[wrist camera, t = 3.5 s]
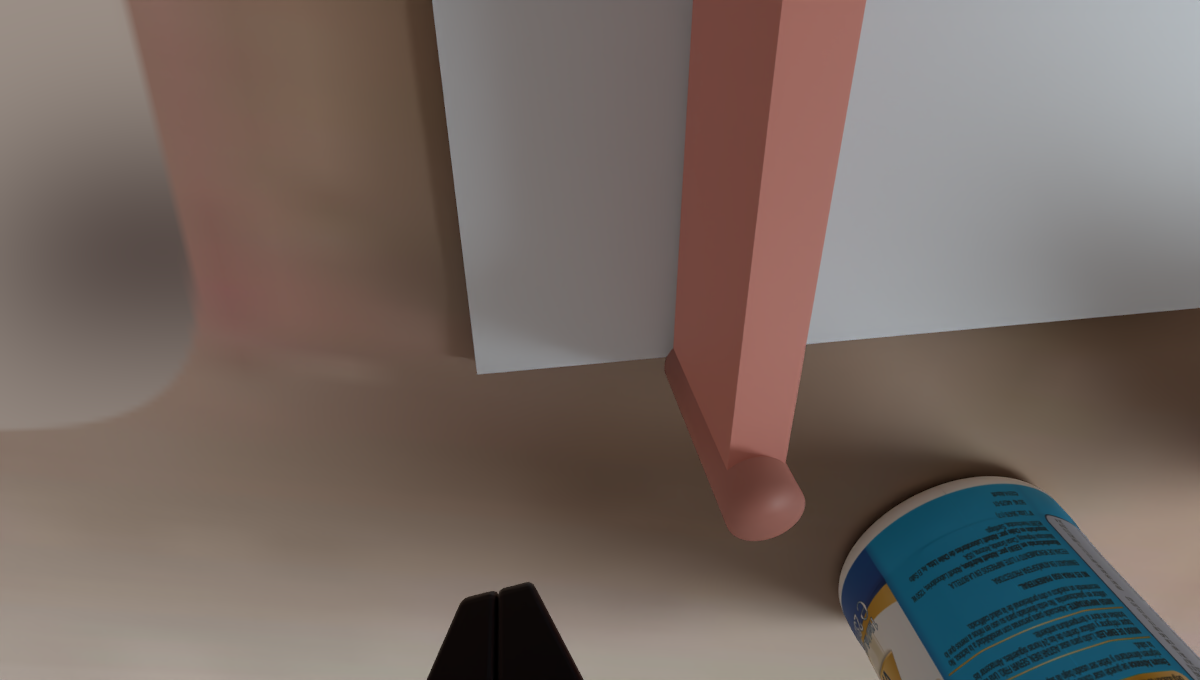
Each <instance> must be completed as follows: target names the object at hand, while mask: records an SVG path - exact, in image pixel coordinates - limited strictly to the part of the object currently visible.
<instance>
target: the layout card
mask: <svg viewBox="0 0 1200 680" xmlns="http://www.w3.org/2000/svg"><path fill="white" fill-rule="evenodd" d="M432 4H433V13H434V21H435V29H436V37H437V46H438V54H439V62H440V71H441V79H442V87H443V95H444V104H445V112H446V120H447V128H448V137H449V145H450V153H451V162H452V170H453V178H454V186H455V195H456V203H457V211H458V220H459V228H460V236H461V244H462V253H463V261H464V269H465V278H466V286H467V294H468V302H469V311H470V319H471V327H472V335H473V344H474V352H475V360H476V369H477V375H478V374H489V373H500V372H510V371H521V370H532V369H543V368H554V367H565V366H576V365H586V364H597V363H608V362H619V361H630V360H641V359H651V358H662V357H667V356H668V354H669V353H670V351H671V350H672V349H673V343H674V325H675V308H676V290H677V272H678V255H679V237H680V220H681V202H682V184H683V167H684V149H685V131H686V114H687V96H688V78H689V61H690V43H691V26H692V8H693V0H432ZM1194 308H1200V0H866V5H865V11H864V16H863V22H862V28H861V34H860V39H859V45H858V51H857V57H856V62H855V68H854V74H853V79H852V85H851V91H850V97H849V102H848V108H847V114H846V120H845V125H844V131H843V137H842V142H841V148H840V154H839V160H838V165H837V171H836V177H835V183H834V188H833V194H832V200H831V205H830V211H829V217H828V223H827V228H826V234H825V240H824V246H823V251H822V257H821V263H820V268H819V274H818V280H817V286H816V291H815V297H814V303H813V309H812V314H811V320H810V326H809V331H808V337H807V343H806V344H814V343H825V342H836V341H847V340H857V339H868V338H879V337H890V336H901V335H912V334H922V333H933V332H944V331H955V330H966V329H977V328H988V327H998V326H1009V325H1020V324H1031V323H1042V322H1053V321H1063V320H1074V319H1085V318H1096V317H1107V316H1118V315H1128V314H1139V313H1150V312H1161V311H1172V310H1183V309H1194Z"/></svg>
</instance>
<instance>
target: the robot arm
mask: <svg viewBox="0 0 1200 680" xmlns="http://www.w3.org/2000/svg"><path fill="white" fill-rule="evenodd" d="M427 680H583V678H582V676H581V674H580V672H579V670H578V668H577V666H576V664H575V662H574V660H573V659H572V657H571V655H570V653H569V651H568V649H567V647H566V645H565V643H564V641H563V639H562V638H561V636H560V634H559V632H558V630H557V628H556V626H555V624H554V622H553V620H552V618H551V617H550V615H549V613H548V611H547V609H546V607H545V605H544V603H543V601H542V599H541V597H540V596H539V594H538V592H537V590H536V588H535V586H534V585H533V584H532V583H530V582H526V583H522V584H518V585H514V586H510V587H506V588H503V589H501V590H500V592H499V594H498V593H497V592H495V591H490V592H486V593H482V594H478V595H474V596H470V597H467V598H465V599H464V600H463V601H462V602H461V603H460V605H459V607H458V609H457V612H456V614H455V616H454V619H453V621H452V623H451V625H450V628H449V630H448V632H447V635H446V637H445V639H444V641H443V644H442V646H441V648H440V651H439V653H438V655H437V657H436V660H435V662H434V664H433V667H432V669H431V671H430V673H429V676H428V678H427Z"/></svg>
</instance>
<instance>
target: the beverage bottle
mask: <svg viewBox="0 0 1200 680" xmlns="http://www.w3.org/2000/svg"><path fill="white" fill-rule="evenodd" d="M839 600H840V605H841V608H842V611H843V613H844V615H845V617H846V619H847V621H848V623H849V625H850V627H851V629H852V631H853V633H854V635H855V636H856V638H857V640H858V641H859V643H860V644H861V646H862V647H863V648H864V650H865V651H866V653H867V655H868V657H869V660H870V662H871V664H872V666H873V668H874V669H875V671H876V673H877V675H878V677H879V679H880V680H1200V658H1199V657H1198V656H1197V655H1196V654H1195V653H1194V652H1193V651H1192V650H1191V649H1190V647H1189V646H1188V645H1187V644H1186V643H1185V642H1184V641H1183V640H1182V639H1181V638H1180V637H1179V636H1178V635H1177V634H1176V633H1175V632H1174V631H1173V630H1172V629H1171V628H1170V627H1169V626H1168V625H1167V623H1166V622H1165V621H1164V620H1163V619H1162V618H1161V617H1160V616H1159V615H1158V614H1157V613H1156V612H1155V611H1154V610H1153V609H1152V608H1151V607H1150V606H1149V605H1148V604H1147V603H1146V601H1145V600H1144V599H1143V598H1142V597H1141V596H1140V595H1139V594H1138V593H1137V592H1136V591H1135V590H1134V589H1133V588H1132V587H1131V586H1130V585H1129V584H1128V583H1127V582H1126V580H1125V579H1124V578H1123V577H1122V576H1121V575H1120V574H1119V573H1118V572H1117V571H1116V570H1115V569H1114V568H1113V567H1112V566H1111V564H1110V563H1109V562H1108V561H1107V560H1106V559H1105V558H1104V557H1103V556H1102V555H1101V554H1100V552H1099V551H1098V550H1097V549H1096V548H1095V547H1094V546H1093V545H1092V543H1091V542H1090V541H1089V540H1088V538H1087V537H1086V536H1085V535H1084V534H1083V533H1082V532H1081V531H1080V529H1079V528H1078V526H1077V525H1076V523H1075V522H1074V521H1073V520H1072V519H1071V517H1070V516H1069V515H1068V514H1067V513H1066V512H1065V511H1064V510H1063V509H1062V508H1061V507H1060V506H1059V505H1058V503H1057V502H1056V501H1055V500H1054V499H1053V498H1052V497H1051V496H1049V495H1048V494H1047V493H1046V492H1044V491H1043V490H1041V489H1040V488H1038V487H1036V486H1034V485H1032V484H1030V483H1027V482H1024V481H1021V480H1018V479H1013V478H1008V477H999V476H981V477H971V478H965V479H960V480H955V481H951V482H948V483H944V484H941V485H938V486H935V487H933V488H930V489H928V490H925V491H923V492H921V493H919V494H917V495H915V496H913V497H911V498H909V499H907V500H905V501H903V502H902V503H900V504H899V505H897V506H895V507H894V508H892V509H891V510H890V511H888V512H887V513H886V514H884V515H883V516H882V517H880V518H879V519H878V520H877V521H876V522H875V523H874V524H872V525H871V526H870V527H869V528H868V529H867V530H866V531H865V533H864V534H863V535H862V536H861V537H860V538H859V540H858V541H857V542H856V544H855V545H854V546H853V548H852V549H851V551H850V553H849V555H848V556H847V558H846V560H845V563H844V565H843V568H842V571H841V574H840V579H839Z"/></svg>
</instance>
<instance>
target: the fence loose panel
mask: <svg viewBox="0 0 1200 680" xmlns="http://www.w3.org/2000/svg"><path fill="white" fill-rule="evenodd" d="M865 5H866V0H693V8H692V26H691V43H690V61H689V78H688V96H687V114H686V131H685V149H684V167H683V184H682V202H681V220H680V237H679V255H678V272H677V290H676V308H675V325H674V343H673V349H672V350H671V351H670V353H669V354H668V356H667V358H666V361H665V374H666V376H667V379H668V381H669V384H670V386H671V389H672V391H673V394H674V396H675V399H676V401H677V404H678V406H679V409H680V411H681V414H682V416H683V419H684V421H685V424H686V426H687V429H688V431H689V434H690V436H691V438H692V441H693V443H694V446H695V448H696V451H697V453H698V456H699V458H700V461H701V463H702V466H703V468H704V471H705V473H706V476H707V478H708V481H709V483H710V486H711V488H712V491H713V493H714V496H715V498H716V501H717V503H718V506H719V508H720V511H721V513H722V516H723V518H724V521H725V523H726V526H727V528H728V530H729V531H730V532H731V533H732V534H733V535H734V536H736V537H738V538H740V539H743V540H747V541H762V540H767V539H771V538H774V537H776V536H778V535H781V534H782V533H784V532H786V531H787V530H789V529H790V528H791V527H792V526H794V525H795V524H796V523H797V521H798V520H799V519H800V517H801V516H802V514H803V511H804V508H805V498H804V495H803V493H802V491H801V489H800V488H799V486H798V484H797V482H796V480H795V478H794V477H793V475H792V473H791V471H790V469H789V468H788V466H787V464H786V457H787V452H788V446H789V440H790V434H791V429H792V423H793V417H794V412H795V406H796V400H797V394H798V389H799V383H800V377H801V372H802V366H803V360H804V354H805V349H806V343H807V337H808V331H809V326H810V320H811V314H812V309H813V303H814V297H815V291H816V286H817V280H818V274H819V268H820V263H821V257H822V251H823V246H824V240H825V234H826V228H827V223H828V217H829V211H830V205H831V200H832V194H833V188H834V183H835V177H836V171H837V165H838V160H839V154H840V148H841V142H842V137H843V131H844V125H845V120H846V114H847V108H848V102H849V97H850V91H851V85H852V79H853V74H854V68H855V62H856V57H857V51H858V45H859V39H860V34H861V28H862V22H863V16H864V11H865Z"/></svg>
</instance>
